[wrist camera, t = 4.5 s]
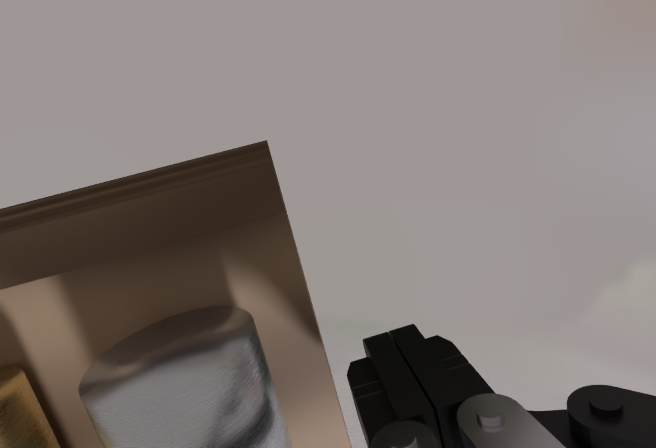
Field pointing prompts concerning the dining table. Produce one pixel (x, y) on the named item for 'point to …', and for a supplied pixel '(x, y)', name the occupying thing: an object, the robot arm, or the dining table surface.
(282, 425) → the steel slug
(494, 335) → the dining table surface
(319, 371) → the brown open channel
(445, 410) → the robot arm
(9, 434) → the brass slug
